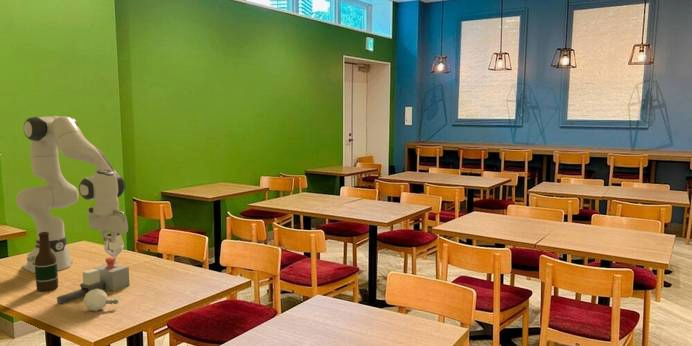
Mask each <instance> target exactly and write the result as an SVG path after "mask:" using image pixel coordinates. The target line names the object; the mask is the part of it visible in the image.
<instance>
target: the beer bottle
mask: <svg viewBox="0 0 692 346" xmlns="http://www.w3.org/2000/svg"><path fill="white" fill-rule="evenodd" d="M48 235H49V232H41V233H39V235H38V236H39V253H38V255H37V256H36V259H35V273H34V274H35V287H36V291H38V292H39V293H48V292H49V293H50V292H53V291H56V290H57V289H58V288H59V275H58V271H57V260H56V257H55V255H54V253H53V252H52V251H51V249H50V243H49V236H48Z"/></svg>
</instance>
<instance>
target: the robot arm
mask: <svg viewBox="0 0 692 346" xmlns="http://www.w3.org/2000/svg"><path fill="white" fill-rule="evenodd" d="M23 133H24V135H25V137H26V138H27V139H28V140H30V163H31V172H32V174H33V175H34V176H35V177H38V178H40V179H43V180H44V181H45V182H46V185H44V186H43V185H42V186H33V187H28V188H25V189H21V190H19V192H18V193H17V195H16V196H15V197H16V198H15V202H16V206H17V207H18V208H19V209H20V210H21V211H23V212H25V213H26V214H27V215H29V216H30V217H31V218H32V220H33V221H34V223H35V228H36V236H37V237H36V238H37V239H35V240H34V241H35V242H34V243H35V248H34V249H32V250H31V251H30V252H29V253H28V254H27V258H26V261H27V262H26V263H24V264H21V268H23V269H25V270H26V271H28V272H30V273H32V274H35V259H36V256H37V255H38V253H39V236H38V235H39V233H41V232H49V235H48V236H49V243H50V249H51V251H52V252H53V253H54V255H55V257H56V260H57V272H58V271H62V270H65V269H68V268H70V267H71V264H73V263H74V261H73V260H71V254H70V248H69V246H67V237H66V233H65V232H66V231H65V222H64V221H63V219H62V218H61V217H58V216H55V215H52V214H51V211H50V210H53V209H55V210H56V209H61V208H62V209H63V208H67V207H69V206H72V205H75V204H77V202H78V201H79V196H81V197H82V198H83V199H85V200H86V201H88V200H89V201H94V200H95V203H94V204H95V205H91V206H89V207H88V208H87V213H88V227H89V228H90V230H95V231H100V235H101V236H102V242H105V241H106V242H107V241H109V240H110V241H109V242H111V243H114V242H115V238H116V236H117V233H118V234H121V235H123V234H126V233H128V231H129V224H128V218H127V215H126V214H125V213H124V211H123V210H120V200H119V197H121V196H122V195H123V194H124V192H125V190H126V180H125V179H124V178H123V177H122V176H121V175H120V174H119V173H118V172H117V171H116V169H115V168H114V167H113V165H112V164H111V163H110V161H109V160H108V159H107V158H106V156H105V155H104V153H103V152H102V151H101V150H100V149H99V148H98V147H97V146H95V145H93V143H91V142H90V141H89V140H88V139H87V138H86V137H85V136H84V134H83V131H82V130H81V129H80V126H79V124H78V121H77V120H76V119H75V118H74V117H70V116H66V115H65V116H64V115H63V116H60V115H49V116H34V117H33V116H32V117H29V118H27V119H25V121H24V123H23ZM59 151H60V152H61V154H62V155H63V156H65V157H66V158H68V159H70V160H78V161H82V162H86V163H89V164H91V165H93V166H94V167H95V168H96V169H97V170H96V171H94V174H93V175H90V176H88V177H85V178H82V180H81V181H80V183H79V186H78V188H77V187H76V186H74V185H73V184H72V183H70V182H69V181H68V180H66V178H65V177H64V175H63V173H62V170H61V166H60V165H61V164H60V157H59ZM107 233H109V234H111V238H109V237H107V235H108V234H107Z"/></svg>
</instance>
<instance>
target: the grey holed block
mask: <svg viewBox="0 0 692 346" xmlns="http://www.w3.org/2000/svg"><path fill="white" fill-rule="evenodd" d="M92 269H98V270H100V281H102V282H103V283H105V290H108V291H111V292H114V290H115V291H117V290H120V289H122V288H125V287H128V286H131V285H130V268H129V266H126V265H122V264H117V263H116V264H114V268H113V269H107V263H105V264H101V265H97V266H95V267H92Z"/></svg>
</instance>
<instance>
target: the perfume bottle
mask: <svg viewBox="0 0 692 346" xmlns="http://www.w3.org/2000/svg"><path fill="white" fill-rule="evenodd" d="M107 304H109V305H113V304H114V305H117V304H119V299H118V298H114V299H108V294H107V293H106V292H105V291H104V290H100V289H94V290H91V291H89V292H88V293H86V295H85V297H83V306H84V307H85V308H86V310H88V311H92V312H97V311H100V310H102V309H103V308H104V307H106V305H107Z"/></svg>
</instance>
